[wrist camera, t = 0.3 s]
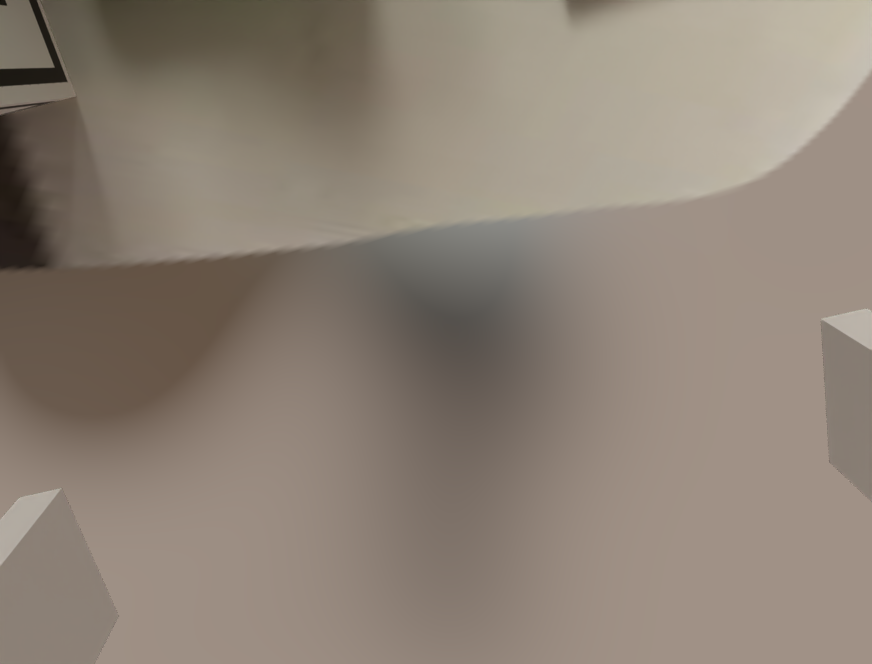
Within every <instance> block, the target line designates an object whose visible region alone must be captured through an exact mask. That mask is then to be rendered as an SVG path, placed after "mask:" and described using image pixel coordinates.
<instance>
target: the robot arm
mask: <svg viewBox="0 0 872 664" xmlns="http://www.w3.org/2000/svg"><path fill="white" fill-rule="evenodd" d="M821 332H822V348H823V365H824V382H825V399H826V416H827V430H828V447H829V462H830V463H831V464H832V465H833V466H834V467H835V468H837V470H838V471H839V472H840V473H841V474H842V475H844V476H845V477H846V478H847V479H848V480H849V481H850V482H851V483H852V484H853V485H854V486H855V487H856V488H857V489H858V490H859V491H860V492H861V493H863V494H864V495H865V496H866V497H867V498H868V499H869V500H870V501H871V502H872V311H870V310H869V309H862V310H858V311H853V312H849V313H844V314H840V315H835V316H831V317H826V318H822V319H821ZM118 617H119V615H118V612H117V610H116V608H115V606H114V604H113V601H112V599H111V597H110V595H109V593H108V590H107V588H106V586H105V583H104V581H103V579H102V577H101V574H100V572H99V570H98V568H97V565H96V563H95V561H94V559H93V556H92V554H91V552H90V550H89V547H88V545H87V543H86V541H85V539H84V536H83V534H82V532H81V529H80V527H79V525H78V523H77V520H76V518H75V516H74V514H73V512H72V509H71V507H70V505H69V502H68V500H67V498H66V496H65V494H64V491H63V489H62V488H59V489H55V490H51V491H46V492H42V493H37V494H32V495H28V496H23V497H20V498H18V499H17V501H16V502H15V503H14V504H13V505H12V506H11V508H10V509H9V510H8V511H7V512H6V513H5V514H4V516H3V517H2V518H1V519H0V664H95V662H96V660H97V658H98V656H99V654H100V652H101V650H102V648H103V646H104V644H105V642H106V640H107V638H108V636H109V634H110V632H111V630H112V628H113V627H114V625H115V623H116V621H117V619H118Z"/></svg>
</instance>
